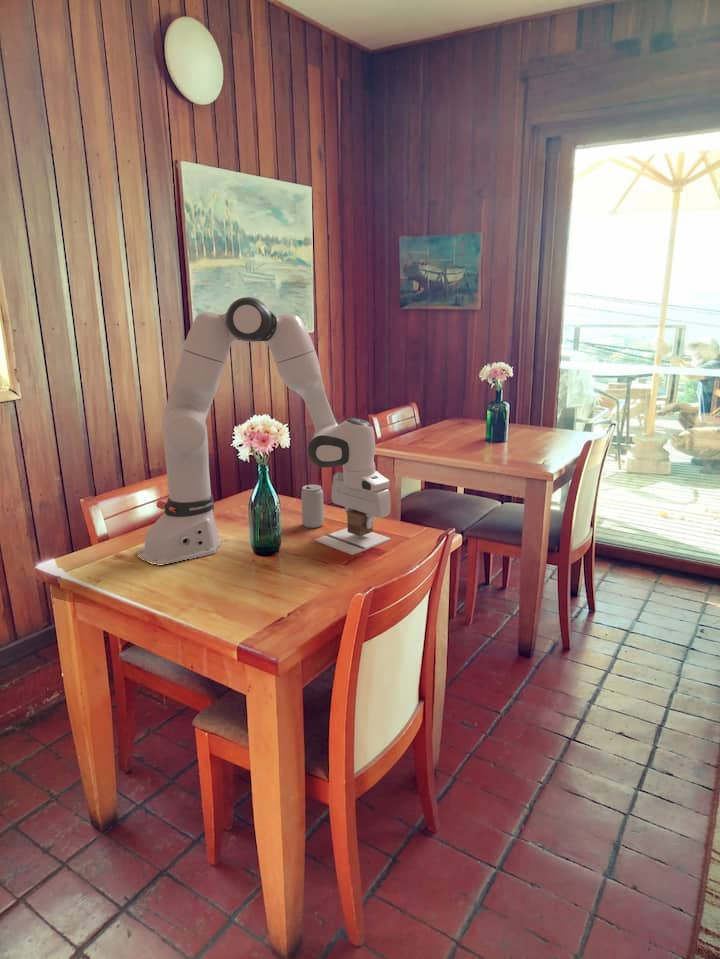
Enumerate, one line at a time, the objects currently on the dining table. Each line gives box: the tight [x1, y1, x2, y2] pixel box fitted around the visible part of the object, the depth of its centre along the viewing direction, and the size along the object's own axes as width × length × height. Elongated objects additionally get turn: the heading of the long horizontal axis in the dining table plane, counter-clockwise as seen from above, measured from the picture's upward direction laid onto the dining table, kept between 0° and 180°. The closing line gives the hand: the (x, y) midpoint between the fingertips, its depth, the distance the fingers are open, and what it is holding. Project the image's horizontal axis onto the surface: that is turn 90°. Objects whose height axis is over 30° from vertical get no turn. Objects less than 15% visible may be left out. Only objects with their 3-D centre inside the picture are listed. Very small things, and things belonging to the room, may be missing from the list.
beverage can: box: [300, 484, 325, 529], centre depth 195 cm, size 6×6×12 cm
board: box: [314, 527, 392, 556], centre depth 184 cm, size 15×15×1 cm
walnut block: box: [346, 509, 374, 536], centre depth 184 cm, size 5×5×6 cm
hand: (360, 524), depth 184 cm, fingers closed on walnut block, 5 cm apart
